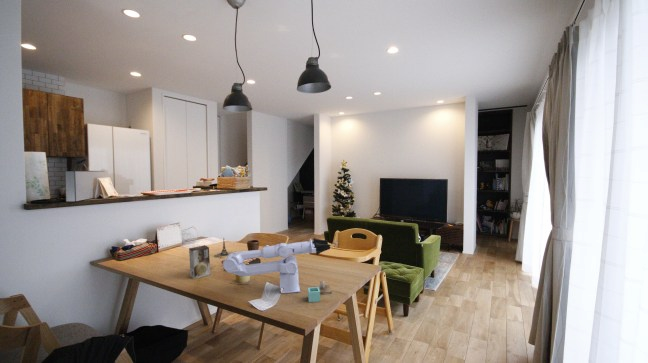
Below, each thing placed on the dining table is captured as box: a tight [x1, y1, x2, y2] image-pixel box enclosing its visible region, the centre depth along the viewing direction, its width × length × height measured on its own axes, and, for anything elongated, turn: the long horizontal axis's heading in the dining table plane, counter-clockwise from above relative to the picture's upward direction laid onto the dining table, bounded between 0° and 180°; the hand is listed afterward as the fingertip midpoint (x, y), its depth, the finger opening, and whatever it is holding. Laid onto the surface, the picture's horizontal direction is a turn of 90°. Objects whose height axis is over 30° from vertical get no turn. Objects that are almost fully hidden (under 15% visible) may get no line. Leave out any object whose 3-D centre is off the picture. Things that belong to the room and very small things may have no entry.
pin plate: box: [313, 280, 333, 295], centre depth 140 cm, size 8×8×4 cm
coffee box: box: [188, 244, 211, 280], centre depth 163 cm, size 9×6×16 cm
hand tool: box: [247, 257, 262, 264], centre depth 174 cm, size 19×4×5 cm, turn 149°
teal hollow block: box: [307, 286, 321, 303], centre depth 131 cm, size 5×5×4 cm
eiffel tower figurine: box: [213, 237, 230, 259], centre depth 203 cm, size 15×10×13 cm
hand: (328, 244), depth 144 cm, fingers open, 7 cm apart
